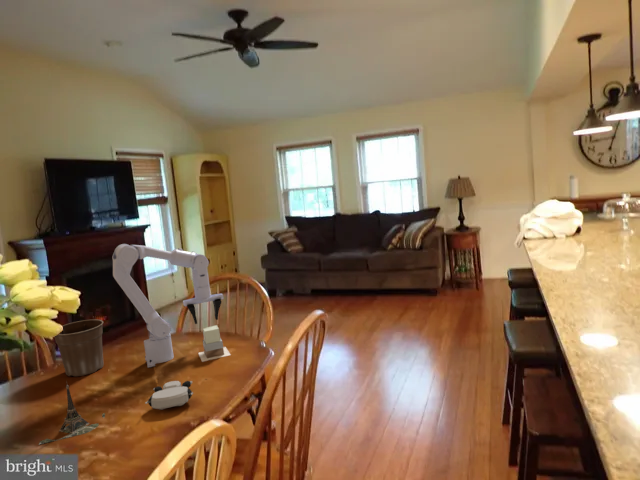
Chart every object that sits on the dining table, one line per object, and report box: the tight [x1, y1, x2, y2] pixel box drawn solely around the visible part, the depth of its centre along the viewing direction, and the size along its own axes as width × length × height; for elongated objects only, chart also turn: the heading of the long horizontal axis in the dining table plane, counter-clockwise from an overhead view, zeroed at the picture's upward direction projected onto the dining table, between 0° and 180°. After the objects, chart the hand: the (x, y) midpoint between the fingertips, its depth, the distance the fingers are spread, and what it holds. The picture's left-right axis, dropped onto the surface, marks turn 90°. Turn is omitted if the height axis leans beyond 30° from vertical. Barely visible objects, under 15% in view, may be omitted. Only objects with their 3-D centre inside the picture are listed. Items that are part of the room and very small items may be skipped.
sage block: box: [202, 324, 222, 344], centre depth 165 cm, size 5×5×4 cm
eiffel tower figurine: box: [38, 380, 106, 445], centre depth 122 cm, size 15×10×13 cm
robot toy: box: [144, 380, 194, 411], centre depth 133 cm, size 12×4×15 cm
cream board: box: [198, 346, 232, 363], centre depth 166 cm, size 10×10×1 cm
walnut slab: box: [203, 347, 224, 358], centre depth 166 cm, size 6×6×2 cm
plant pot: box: [54, 319, 105, 377], centre depth 164 cm, size 16×16×16 cm
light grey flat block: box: [202, 337, 224, 352], centre depth 166 cm, size 6×6×2 cm
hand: (206, 321), depth 174 cm, fingers open, 7 cm apart
